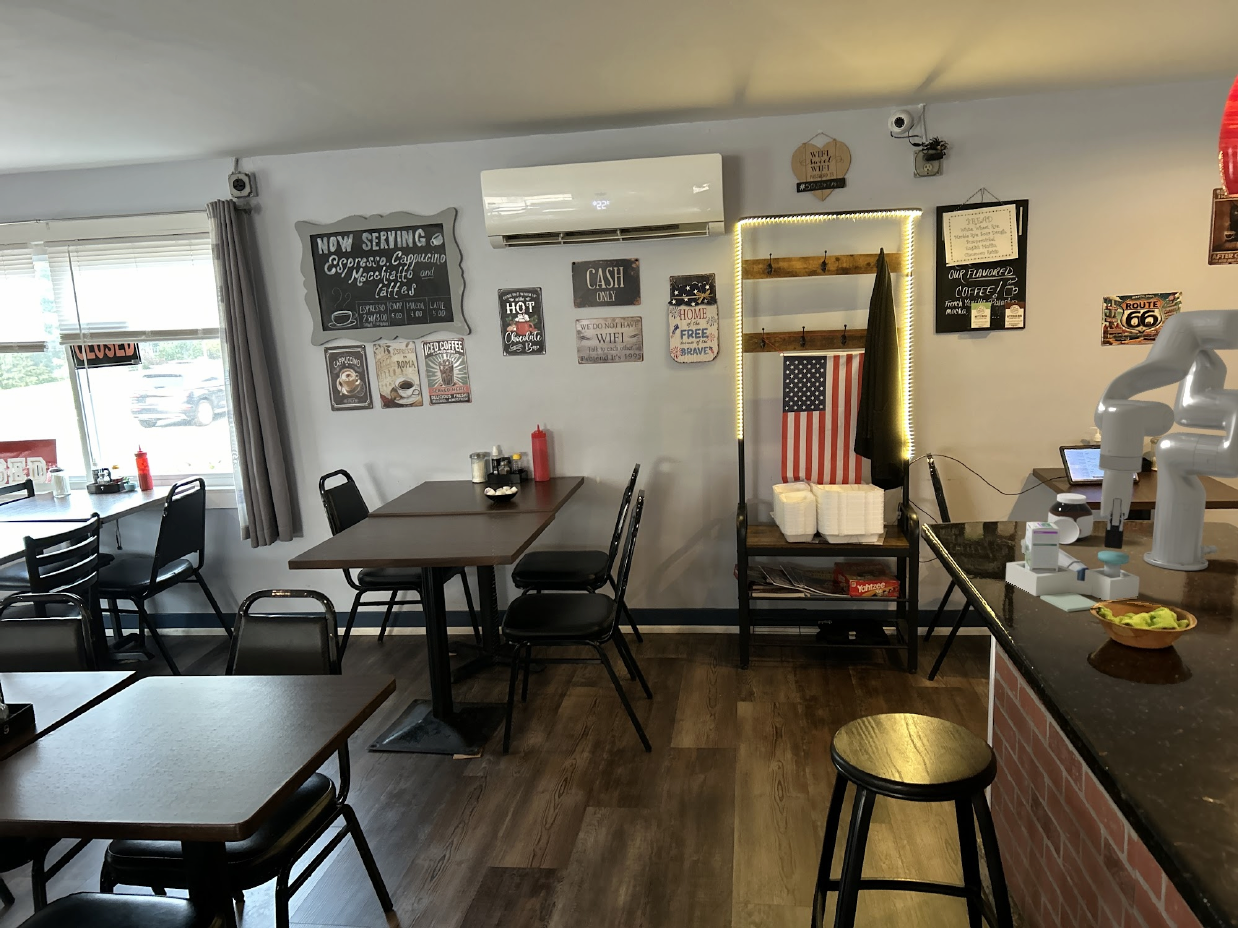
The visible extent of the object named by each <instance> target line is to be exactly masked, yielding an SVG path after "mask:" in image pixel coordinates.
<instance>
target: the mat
mask: <svg viewBox="0 0 1238 928" xmlns="http://www.w3.org/2000/svg"><path fill="white" fill-rule="evenodd" d="M1039 597H1040V599H1041V601H1045V602H1047V603H1049V604H1051V605H1053V606H1054V607H1056V608H1059V609H1061V610H1063V611H1065V612H1067V613H1068V612H1069V613H1070V612H1076V611H1077V612H1078V611H1085V610H1091V609H1090V608H1091V607H1092V606H1093V605H1096V604H1097V603H1098V602H1096V601H1093V600H1092V599H1089V598H1087V597H1085V596H1082V594H1078V593H1074V592H1068V593H1059V594H1050V595H1042V596H1039Z"/></svg>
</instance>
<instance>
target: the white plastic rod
mask: <svg viewBox="0 0 1238 928" xmlns="http://www.w3.org/2000/svg"><path fill="white" fill-rule="evenodd" d="M1020 545H1021V553H1022V554H1023V553H1024V554H1025V548H1026V535H1025V536H1024V538H1022V539H1021V540H1020ZM1024 554H1023V555H1024ZM1058 564H1059V565H1062V566H1064V567H1066V568H1069V569H1071V570H1074V571H1076V572H1078V573H1077V580H1078V581H1085V570H1090V568H1089V567H1088V566H1086V564H1085V563H1084V561H1082V560H1081V559H1076V558H1075V557H1073V556H1071V555H1070V554H1069V553H1067V552H1065V551H1064V550H1063V549H1061V548H1059V557H1058Z"/></svg>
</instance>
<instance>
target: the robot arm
mask: <svg viewBox="0 0 1238 928" xmlns="http://www.w3.org/2000/svg"><path fill="white" fill-rule="evenodd" d="M1215 350H1216V351H1219V350H1220V351H1221V350H1222V351H1225V350H1227V351H1228V350H1229V351H1230V350H1232V351H1233V350H1238V309H1237V308H1236V309H1204V310H1202V309H1201V310H1200V309H1199V310H1190V311H1182V312H1181V311H1180V312H1177V313H1174V314H1172V315H1171V316H1169V317H1168V318H1167V319H1166V320H1165V321H1164V323H1163V325H1162V327H1161V329H1160V330H1159V333H1158V335H1157V336H1156V338H1155V340H1154V342H1153V344H1152V346H1151V348H1150V349H1149V352H1148V354H1147V355H1146V358H1145V359H1144V361H1142V362H1140V363H1137V364H1136V365H1134V366H1132V367H1130V368H1128V369H1127V370H1125V371H1124V372H1122V373H1121V374H1119V375H1118V376H1117V377H1115V378H1114V379H1112V380H1111V381H1110V383H1108V385H1107V386H1106V388H1104V391H1103V393H1102V394H1101V396H1100V399H1099V401H1098V402H1097V405H1096V407H1095V410H1094V415H1093V421H1094V425H1095V427H1096V428H1097V429H1098V430H1099V431H1101V437H1100V450H1099V459H1098V460H1099V463H1098V469H1099V470H1100V471H1103V477H1102V485H1101V487H1102V488H1101V495H1100V496H1101V497H1100V498H1101V499H1100V511H1099V512H1100V514H1099V515H1100V517H1101V518H1104V517H1107V523H1106V525H1107V526H1106V527H1105V530H1104V531H1105V532H1104V533H1105V535H1104V545H1103V546H1104V548H1106V549H1108V548H1109V549H1117V550H1122V549H1123V541H1124V529H1123V527H1124V520H1126V519H1128V516H1129V512H1130V506H1131V501H1132V494H1133V486H1134V478H1135V477H1134V476H1135V474H1136V473H1137V474H1138V473H1141V472H1142V465H1143V455H1144V454H1143V452H1144V443H1145V437H1147V438H1149V437H1150V438H1151V437H1152V438H1158V437H1160V438H1159V439H1158V441H1157V442H1156V444H1155V450H1154V451H1155V452H1154V453H1155V455H1154V456H1155V463H1156V473H1157V479H1156V480H1157V483H1156V484H1157V485H1156V499H1155V510H1154V511H1155V512H1154V524H1153V534H1152V546H1151V551H1147V552H1145V553H1144V554H1143V558H1142V559H1143V561H1145V562H1146V563H1147V564H1149V565H1153V566H1156V567H1160V568H1162V569H1163V568H1164V569H1169V570H1176V571H1177V570H1178V571H1201V570H1205V569H1206V568H1208V566H1209V565H1208V564H1209V561H1208V560H1207V559H1206V558H1204V556H1206V555H1212V554H1216V553H1217V552H1218V547H1217V546H1216V545H1206V546H1205V545H1203V544H1202V542H1203V532H1204V522H1205V512H1206V502H1207V492H1206V489H1205V486H1204V484H1203V483H1202V481H1201V480H1200V479H1199V477H1198V476H1201V477H1202V476H1203V477H1211V478H1220V479H1238V389H1234V388H1233V389H1232V388H1224V387H1225V382H1226V378H1227V374H1228V368H1227V365H1226V364H1225V362H1224V360H1223V358H1222V357H1221V356H1220V355H1219V354H1218V353H1217V352H1216V351H1215ZM1176 383H1178V387H1177V391H1176V394H1175V395H1176V396H1175V398H1174V399H1175V400H1174V404H1173V408H1172V406H1170V405H1169V404H1166V403H1164V402H1163V401H1162V402H1161V401H1153V400H1140V399H1139V400H1138V399H1131V398H1133V397H1135V396H1137V395H1139V394H1141V393H1144V392H1147V391H1153V390H1157V389H1160V388H1164V387H1167V386H1171V385H1173V384H1176ZM1174 424H1176V425H1177V426H1179V427H1184V428H1189V429H1196V430H1197V429H1198V430H1211V431H1225V432H1226V435H1218V434H1206V433H1197V432H1196V433H1195V432H1178V431H1177V432H1171V433H1168V432H1169V431H1170V430H1171V429H1172V428H1173V425H1174Z"/></svg>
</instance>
